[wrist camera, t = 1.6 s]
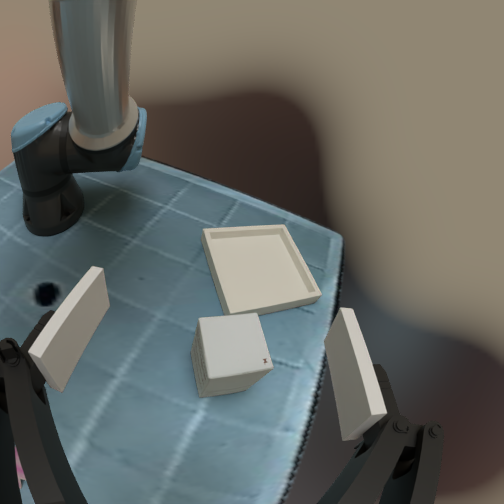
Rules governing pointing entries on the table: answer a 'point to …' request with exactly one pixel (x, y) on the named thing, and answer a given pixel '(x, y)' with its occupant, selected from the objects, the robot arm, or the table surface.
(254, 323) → the supplement box
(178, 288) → the table surface
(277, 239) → the tray
